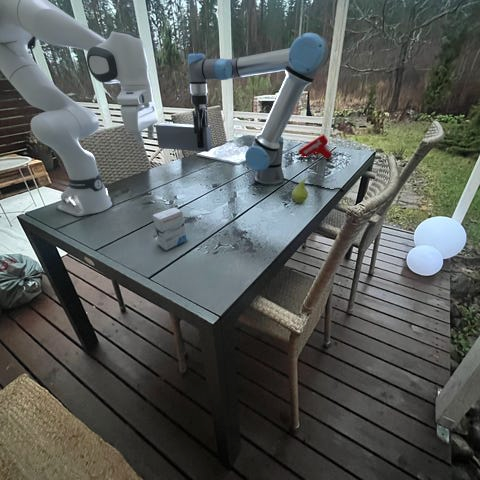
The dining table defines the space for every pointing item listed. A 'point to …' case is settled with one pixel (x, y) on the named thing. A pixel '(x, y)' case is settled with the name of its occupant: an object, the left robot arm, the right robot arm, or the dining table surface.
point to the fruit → (300, 192)
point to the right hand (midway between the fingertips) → (203, 146)
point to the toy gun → (316, 148)
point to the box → (182, 137)
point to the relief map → (227, 153)
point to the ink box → (170, 228)
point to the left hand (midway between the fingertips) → (146, 141)
